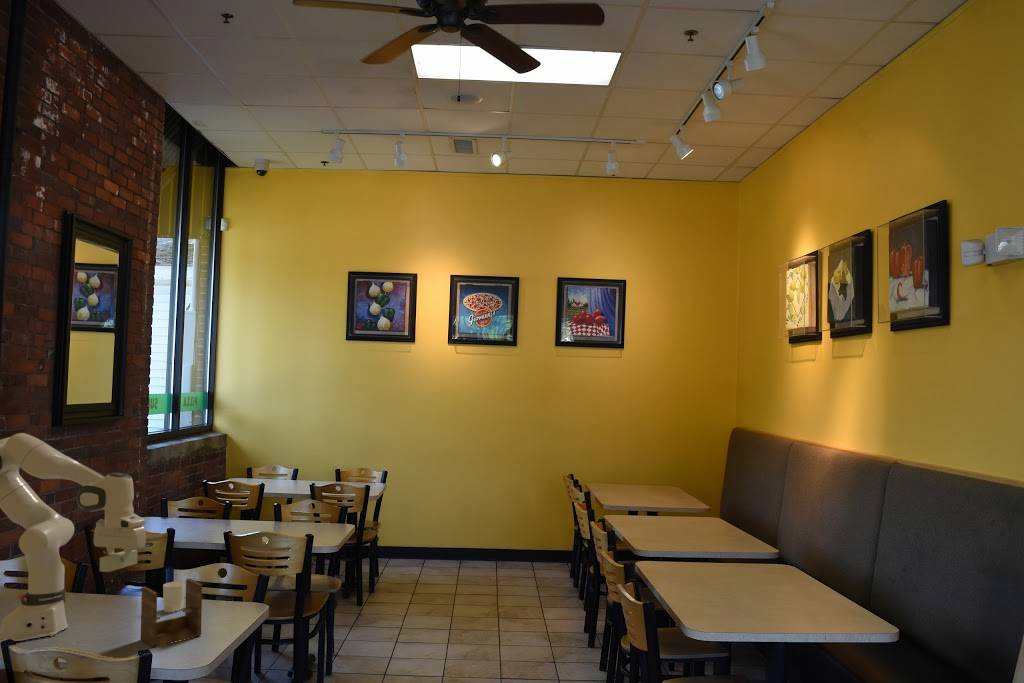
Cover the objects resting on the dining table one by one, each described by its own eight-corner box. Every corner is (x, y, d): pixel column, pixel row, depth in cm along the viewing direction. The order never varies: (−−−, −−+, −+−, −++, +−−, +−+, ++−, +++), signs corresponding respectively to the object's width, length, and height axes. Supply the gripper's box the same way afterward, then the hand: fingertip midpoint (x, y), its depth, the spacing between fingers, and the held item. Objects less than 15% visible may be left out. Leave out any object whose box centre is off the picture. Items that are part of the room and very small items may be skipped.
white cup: (178, 605, 300) (179, 580, 300) (188, 609, 295) (189, 583, 295) (158, 610, 294) (159, 584, 294) (168, 614, 289) (169, 588, 289)
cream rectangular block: (108, 572, 253) (108, 558, 253) (99, 571, 254) (99, 557, 254) (137, 563, 264) (137, 550, 264) (128, 562, 265) (128, 549, 266)
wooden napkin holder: (152, 648, 253) (153, 593, 254) (140, 640, 261) (141, 587, 261) (201, 636, 264) (202, 584, 265) (188, 628, 272) (189, 578, 273)
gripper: (88, 520, 260) (88, 560, 260) (134, 523, 253) (134, 565, 253) (104, 517, 266) (104, 556, 266) (149, 519, 259) (149, 560, 259)
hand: (119, 560), depth 259 cm, fingers closed on cream rectangular block, 4 cm apart
